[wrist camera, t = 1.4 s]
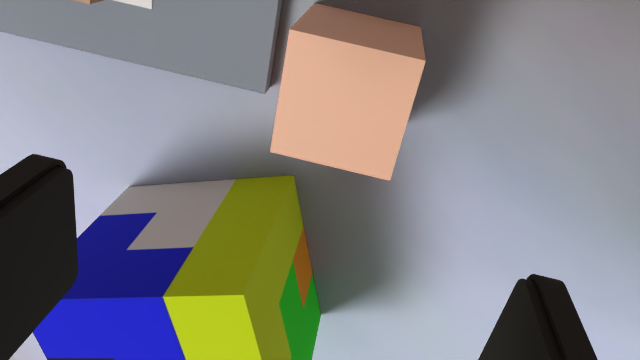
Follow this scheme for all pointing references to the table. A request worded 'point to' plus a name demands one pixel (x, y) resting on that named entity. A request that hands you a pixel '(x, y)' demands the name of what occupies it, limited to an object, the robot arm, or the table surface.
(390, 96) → the top block
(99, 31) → the build mat
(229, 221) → the puzzle toy
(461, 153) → the table surface
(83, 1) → the base block
